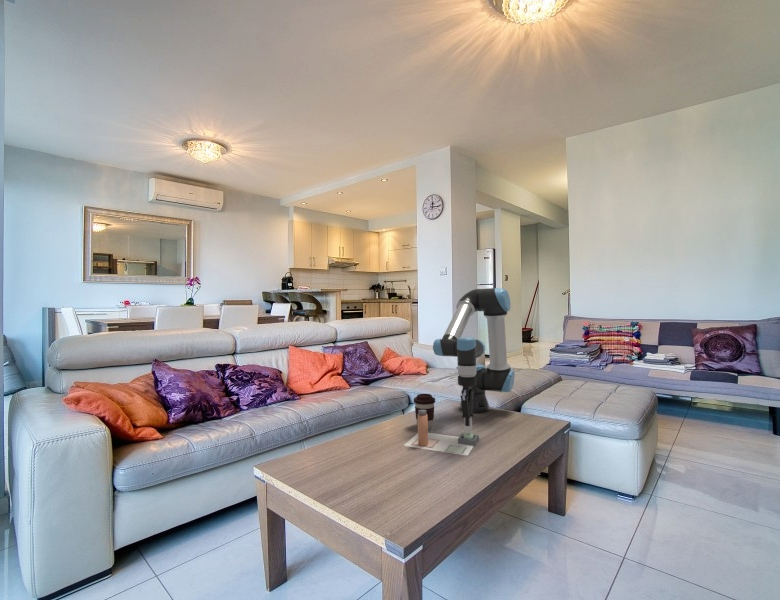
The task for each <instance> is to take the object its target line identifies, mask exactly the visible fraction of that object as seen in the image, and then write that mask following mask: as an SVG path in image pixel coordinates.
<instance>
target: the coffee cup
mask: <svg viewBox="0 0 780 600" xmlns="http://www.w3.org/2000/svg"><path fill="white" fill-rule="evenodd" d="M413 403H414V404H415V406H414V411H415V412H414V414H415V420H416V427H417V428H418V414H419V412H418V411H419V410H426V414H427V415H428V430H430V429H433V428H434V419H435V403H436V398H435V397H433V396H432V394H430V393H419V394H416V396H415V397H414V398H413Z"/></svg>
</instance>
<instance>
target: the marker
mask: <svg viewBox="0 0 780 600" xmlns="http://www.w3.org/2000/svg"><path fill="white" fill-rule="evenodd" d="M418 412H419V414H418V427H417V433H418V445H419V446H427V445H428V433H429V429H428V415H427V414H426V410H419V411H418Z"/></svg>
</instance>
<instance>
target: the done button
mask: <svg viewBox="0 0 780 600" xmlns="http://www.w3.org/2000/svg"><path fill="white" fill-rule="evenodd" d="M462 433H463V435H464V439H472V440H473V439H474V437H473V434H474V432H472V434H467V433H465V431H464V432H462Z"/></svg>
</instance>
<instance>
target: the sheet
mask: <svg viewBox="0 0 780 600" xmlns="http://www.w3.org/2000/svg"><path fill="white" fill-rule="evenodd" d="M458 438H459V436H457V435H456V436H455V435H448V434H440V433H433V432H428V445H427V446H419V445H418V432H417V433H416V434H415V435H414V436H413V437H411V439H409V440H408V441H407V442H406V443H404V444H403V447H410V448H415V449H422V450H428V451H435V452H440V453H441V452H442V453H448V454H455V455H460V456H469V454H470V453H471V451H472V449H473V448H474V447H475V446H472V445H465V444H458Z"/></svg>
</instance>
